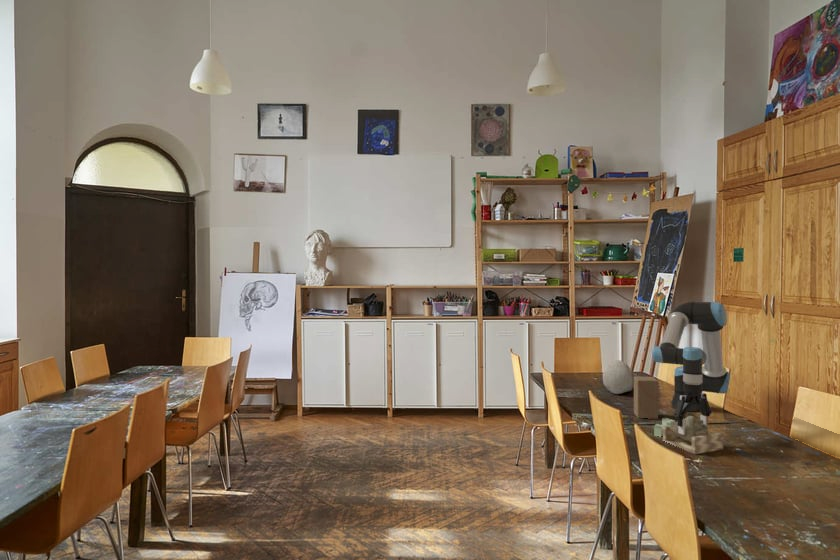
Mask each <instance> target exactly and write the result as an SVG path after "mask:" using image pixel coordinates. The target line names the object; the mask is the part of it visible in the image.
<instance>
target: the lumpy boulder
mask: <svg viewBox="0 0 840 560" xmlns="http://www.w3.org/2000/svg"><path fill="white" fill-rule="evenodd" d="M683 419H685V435H683V434H680V433H678V420H677V421H675V423H672V424H671V425H670V430H671V431H672V432H673V433H675V434H676V435H678V436H679V437H680V438H682V439H684V440H687V441H690V442H692V437H694V436H701V435H707V434H709V432H708V429H709V428H708V425H707V426H706V425H705V424H703V423H704V421H703V420H700V418H696V416H694V415H687V416H685V417H684V418H683Z"/></svg>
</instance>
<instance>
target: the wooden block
mask: <svg viewBox="0 0 840 560" xmlns="http://www.w3.org/2000/svg"><path fill="white" fill-rule="evenodd" d="M633 414H634V415H635V416H636V418H637V419H643V418H648V419H647V420H658V419H659V380H657V378H656V377H654V376H639V375H638V376H637V375H636V376H633Z"/></svg>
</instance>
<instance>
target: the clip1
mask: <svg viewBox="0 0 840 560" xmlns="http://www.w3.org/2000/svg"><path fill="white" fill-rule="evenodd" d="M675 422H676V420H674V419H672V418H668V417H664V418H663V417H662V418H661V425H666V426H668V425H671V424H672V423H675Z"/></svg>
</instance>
